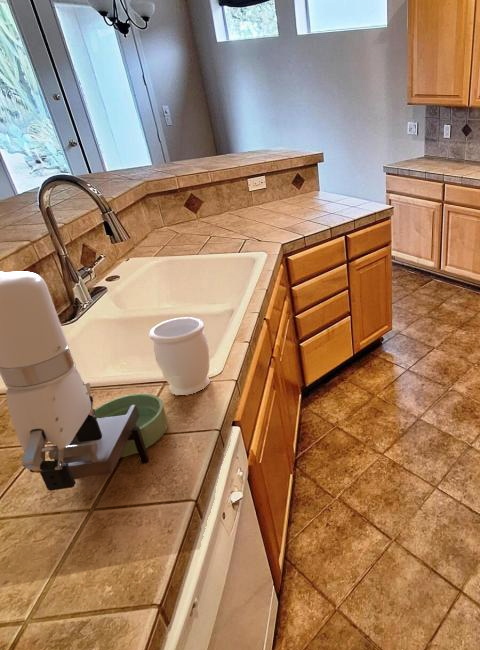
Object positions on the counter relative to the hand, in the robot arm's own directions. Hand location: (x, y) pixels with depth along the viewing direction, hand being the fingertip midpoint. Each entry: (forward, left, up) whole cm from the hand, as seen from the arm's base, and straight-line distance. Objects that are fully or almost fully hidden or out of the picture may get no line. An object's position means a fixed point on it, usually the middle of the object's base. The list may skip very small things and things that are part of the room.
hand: (77, 462), depth 64 cm
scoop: (0, +6, -3) cm, 7 cm away
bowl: (0, +17, -9) cm, 19 cm away
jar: (+8, +32, -9) cm, 34 cm away
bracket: (0, +9, -9) cm, 13 cm away
